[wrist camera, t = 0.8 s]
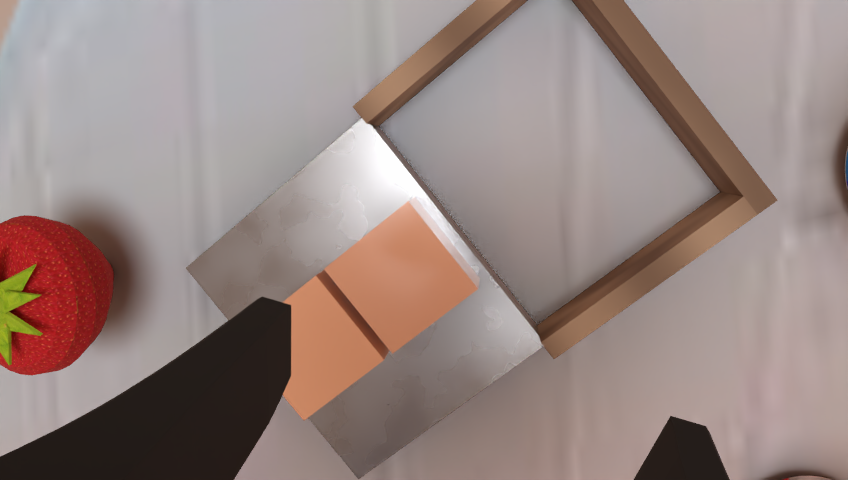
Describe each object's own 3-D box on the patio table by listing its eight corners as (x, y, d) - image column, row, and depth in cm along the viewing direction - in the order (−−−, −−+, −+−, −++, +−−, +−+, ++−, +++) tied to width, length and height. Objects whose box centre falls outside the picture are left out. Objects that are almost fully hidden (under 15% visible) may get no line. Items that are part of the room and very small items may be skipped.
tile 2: (318, 400, 33) (303, 420, 30) (256, 325, 32) (236, 339, 30) (392, 344, 32) (384, 360, 29) (329, 265, 32) (315, 275, 29)
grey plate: (366, 460, 35) (358, 479, 33) (203, 261, 34) (185, 268, 32) (543, 332, 33) (545, 344, 31) (372, 118, 32) (364, 116, 30)
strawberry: (65, 341, 36) (-97, 413, 26) (45, 208, 35) (-132, 232, 25) (163, 337, 35) (34, 410, 26) (146, 202, 34) (4, 223, 24)
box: (549, 340, 33) (553, 359, 30) (366, 110, 32) (352, 106, 29) (750, 195, 31) (777, 200, 28) (558, -54, 30) (564, -76, 27)
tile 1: (400, 338, 32) (392, 353, 29) (336, 259, 31) (323, 268, 29) (480, 278, 31) (478, 288, 28) (415, 196, 31) (408, 201, 28)
